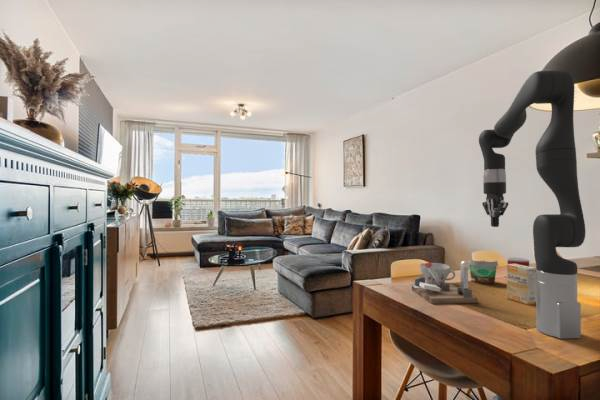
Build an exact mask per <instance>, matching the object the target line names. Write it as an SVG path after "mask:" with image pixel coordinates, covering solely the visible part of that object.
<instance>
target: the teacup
mask: <svg viewBox="0 0 600 400" xmlns="http://www.w3.org/2000/svg"><path fill="white" fill-rule="evenodd" d="M425 263H426V262H425ZM425 263H423V262H422V263H420V264H419V269H420V272H421V277H425V282H426V283H427V284H437V282H436V280H435V279H434V277H433V276H432V275H431V273H430V272H429V270H428V269H427V268H426V267H425ZM430 263H431V264H432V266H433V268H434V269H435V271H436V272H437V274H438V275H439V277H440V278H441V280H442V281H452V280H453V279H455V277H456V272H455V271H454V270H453V269H451V267H450V265H448V264H445V263H441V262H440V263H439V262H430ZM450 273H451V274H453V276H452V277H449V278H448V276H449V274H450Z"/></svg>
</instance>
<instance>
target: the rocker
mask: <svg viewBox="0 0 600 400" xmlns="http://www.w3.org/2000/svg"><path fill="white" fill-rule="evenodd" d="M419 286H421V287H422V288H424V289H428V290H433V291H438V292H440V290H441V288H440V287H438V286H436V285H432V284H429V283H428V282H425V283H422V282H420V284H419Z"/></svg>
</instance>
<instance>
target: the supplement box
mask: <svg viewBox="0 0 600 400" xmlns="http://www.w3.org/2000/svg"><path fill="white" fill-rule="evenodd" d="M506 264H507V265H506V299H507V300H511V301H513V302H514V301H515V302H518V303H522V304H524V305H527V306H529V305H536V267H533V266H530V265H529V266H524V265H519V264H508V263H506Z"/></svg>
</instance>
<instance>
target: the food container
mask: <svg viewBox="0 0 600 400" xmlns="http://www.w3.org/2000/svg"><path fill="white" fill-rule="evenodd" d="M467 263H468V267H469V274H470V281H471V282H472V283H475V284H479V285H494V284H495V281H496V273H497V267H498V266H499V263H498V260H497V259H496V260H494V261H486V260H472V259H468V261H467Z"/></svg>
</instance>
